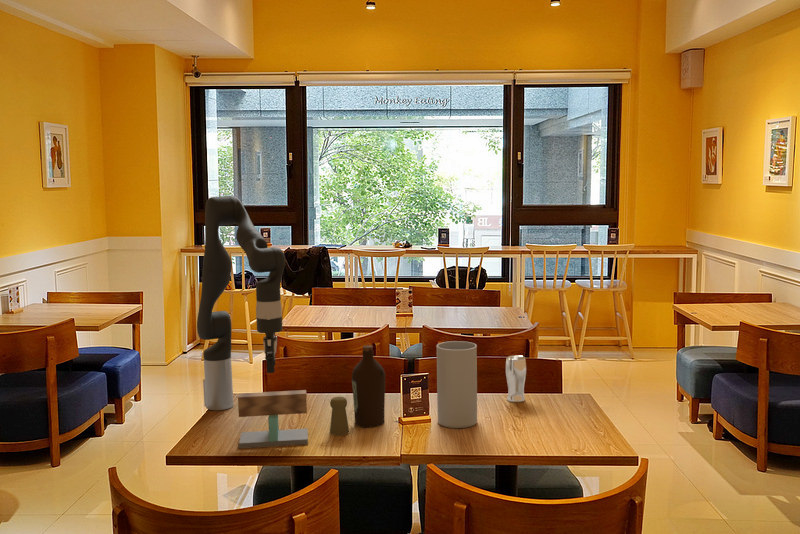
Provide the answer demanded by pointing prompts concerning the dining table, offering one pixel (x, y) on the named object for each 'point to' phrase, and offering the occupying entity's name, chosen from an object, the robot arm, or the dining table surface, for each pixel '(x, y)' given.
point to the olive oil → (368, 390)
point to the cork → (339, 416)
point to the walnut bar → (272, 403)
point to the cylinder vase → (457, 384)
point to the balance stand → (273, 436)
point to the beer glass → (515, 377)
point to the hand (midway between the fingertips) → (271, 369)
